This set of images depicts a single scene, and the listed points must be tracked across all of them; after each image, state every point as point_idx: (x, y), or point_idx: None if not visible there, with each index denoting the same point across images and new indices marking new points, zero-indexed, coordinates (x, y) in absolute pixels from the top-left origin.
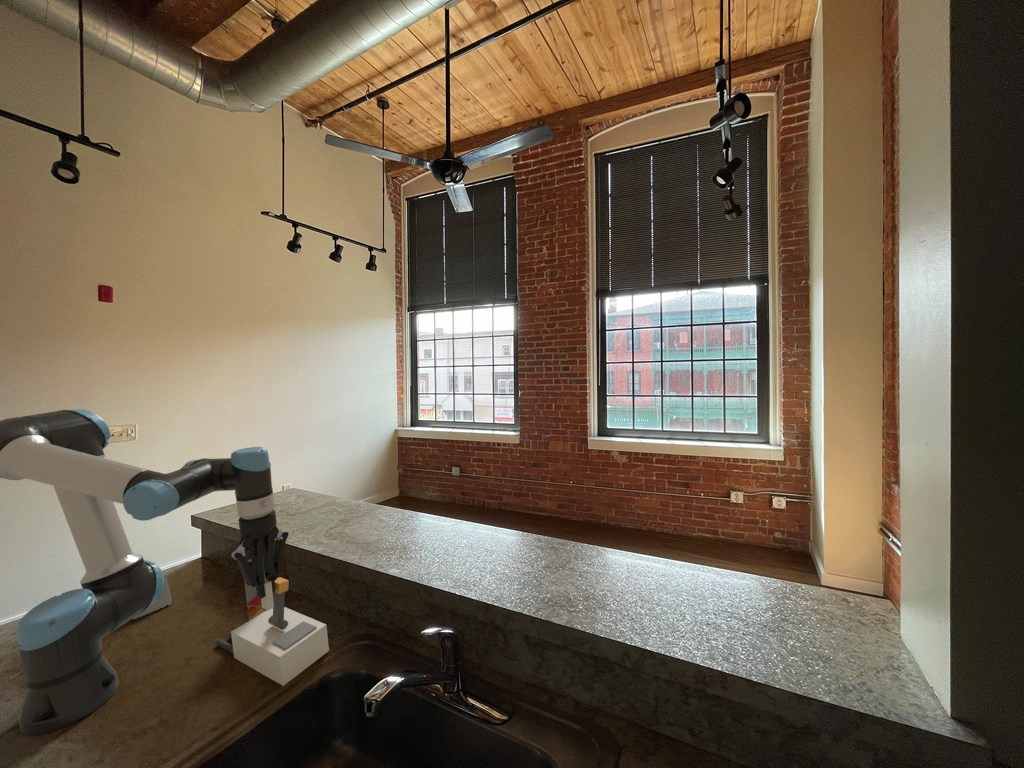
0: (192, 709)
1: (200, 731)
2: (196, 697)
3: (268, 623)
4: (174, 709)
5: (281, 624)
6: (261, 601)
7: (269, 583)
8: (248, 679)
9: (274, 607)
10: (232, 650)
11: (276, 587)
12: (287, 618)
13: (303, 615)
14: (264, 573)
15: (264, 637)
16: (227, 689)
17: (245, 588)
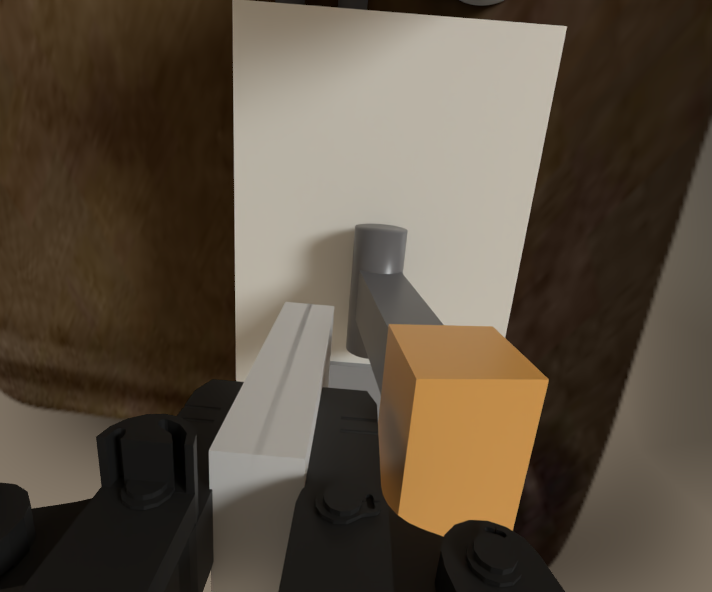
0: (45, 181)
1: (31, 306)
2: (75, 130)
3: (382, 179)
4: (2, 108)
5: (354, 351)
6: (274, 324)
7: (273, 580)
8: (227, 242)
9: (371, 316)
10: (277, 1)
11: (389, 459)
12: (455, 251)
13: (505, 317)
14: (285, 563)
15: (289, 276)
16: (160, 212)
17: None
